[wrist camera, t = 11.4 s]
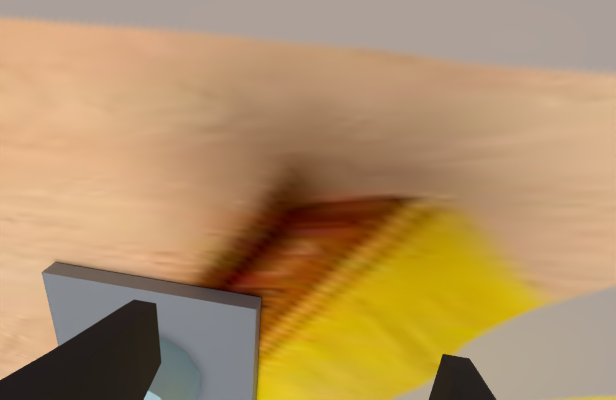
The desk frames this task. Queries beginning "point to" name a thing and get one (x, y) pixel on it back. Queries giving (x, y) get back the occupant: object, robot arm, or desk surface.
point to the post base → (168, 321)
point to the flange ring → (174, 375)
